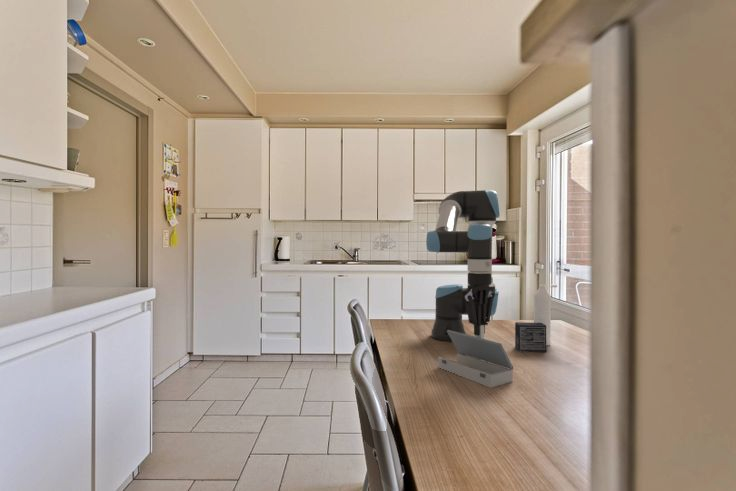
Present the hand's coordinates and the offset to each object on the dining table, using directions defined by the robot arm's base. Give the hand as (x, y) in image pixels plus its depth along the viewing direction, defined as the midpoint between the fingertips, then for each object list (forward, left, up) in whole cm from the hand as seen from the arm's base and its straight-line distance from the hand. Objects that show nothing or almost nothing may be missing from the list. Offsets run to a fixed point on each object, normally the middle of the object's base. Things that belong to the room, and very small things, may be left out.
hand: (479, 344), depth 130 cm
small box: (-8, +39, -10) cm, 41 cm away
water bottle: (-10, +52, -9) cm, 54 cm away
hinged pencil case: (0, -3, -9) cm, 9 cm away
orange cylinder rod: (-5, -3, -9) cm, 10 cm away
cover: (0, -1, -2) cm, 2 cm away
